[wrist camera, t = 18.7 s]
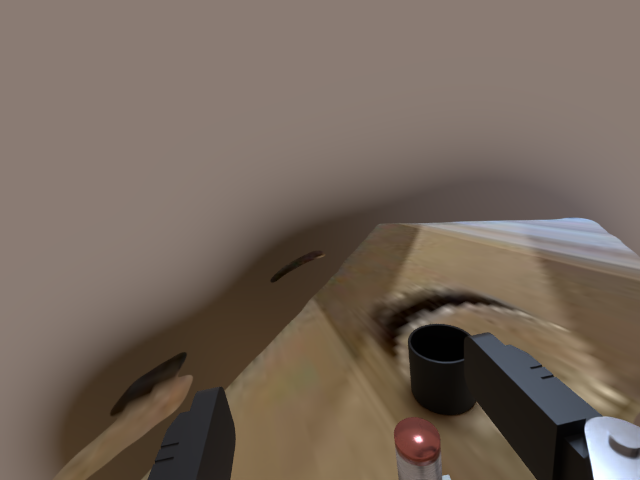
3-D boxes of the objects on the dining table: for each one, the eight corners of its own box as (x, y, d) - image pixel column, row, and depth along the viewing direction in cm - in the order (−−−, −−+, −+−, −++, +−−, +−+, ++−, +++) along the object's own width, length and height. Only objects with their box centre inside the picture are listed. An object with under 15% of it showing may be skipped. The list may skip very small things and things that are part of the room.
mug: (477, 365, 54) (477, 318, 51) (476, 423, 44) (476, 368, 41) (419, 356, 58) (416, 312, 55) (406, 407, 48) (402, 356, 45)
